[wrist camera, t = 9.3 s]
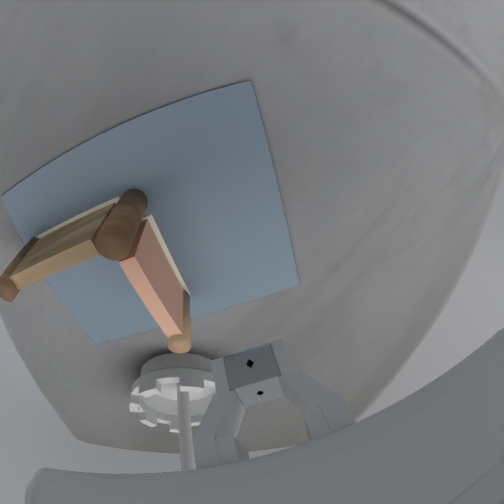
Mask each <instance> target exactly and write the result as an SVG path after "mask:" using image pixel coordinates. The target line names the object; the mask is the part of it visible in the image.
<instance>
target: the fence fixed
mask: <svg viewBox="0 0 504 504" xmlns="http://www.w3.org/2000/svg"><path fill="white" fill-rule="evenodd" d="M147 205H148V200H147V197H146V195H145V194H144V193H143V192H142V191H141V190H138V189H129V190H127V191H126V192H125V193H124V194H123V195H122V197H121V198H120V199H119V201H118V202H117V204H115V202H114V203H112V204H110V205H108V206H105V207H103V208H101V209H99V210H96V211H94V212H92V213H90V214H88V215H86V216H83V217H81V218H79V219H77V220H75V221H73V222H71V223H69V224H67V225H65V226H63V227H61V228H59V229H57V230H55V231H53V232H51V233H49V234H47V235H45V236H44V237H42V238H40V239H39V238H36V237H33V238H31V239H30V240H29V242H28V243H27V244H26V245H25V246H24V247H23V249H22V250H21V251H20V252H19V253H18V255H17V256H16V257H15V258H14V260H13V261H12V262H11V263H10V265H9V266H8V267H7V269H6V270H5V271H4V273H3V274H2V275H1V277H0V297H1V298H2V299H4V300H5V301H8V302H12V301H13V300H14V299H15V297H16V295H17V294H18V292H19V291H20V289H21V288H23V287H26V286H28V285H30V284H32V283H35V282H37V281H39V280H41V279H44V278H46V277H48V276H51V275H53V274H55V273H58V272H60V271H62V270H65V269H67V268H70V267H72V266H74V265H77V264H79V263H82V262H84V261H87V260H89V259H92V258H94V257H97V256H99V255H100V254H101V255H102V256H103V257H105V258H106V259H109V260H112V261H118V260H122V259H124V258H125V257H126V256H127V255H128V254H129V252H130V249H131V247H132V244H133V241H134V239H135V236H136V233H137V231H138V228H139V225H140V223H141V220H142V218H143V215H144V213H145V210H146V208H147Z"/></svg>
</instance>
